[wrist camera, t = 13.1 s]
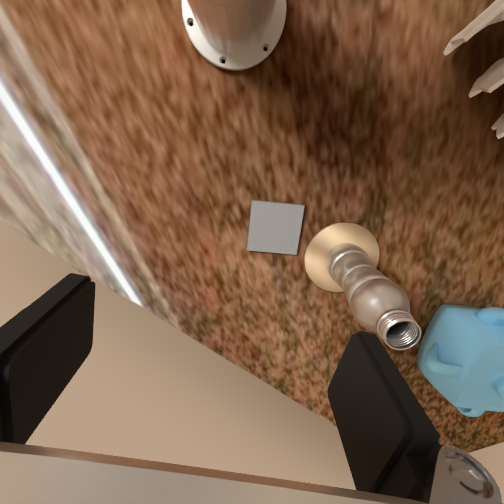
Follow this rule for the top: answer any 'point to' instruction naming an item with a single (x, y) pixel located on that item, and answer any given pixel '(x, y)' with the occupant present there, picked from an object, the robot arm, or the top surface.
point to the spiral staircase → (499, 70)
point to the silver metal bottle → (373, 296)
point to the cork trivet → (330, 239)
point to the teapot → (466, 357)
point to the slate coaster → (275, 227)
